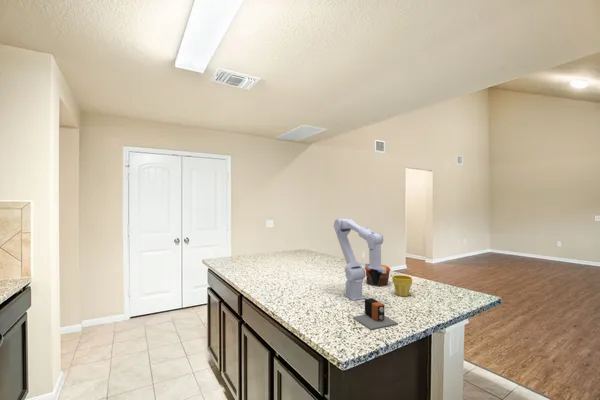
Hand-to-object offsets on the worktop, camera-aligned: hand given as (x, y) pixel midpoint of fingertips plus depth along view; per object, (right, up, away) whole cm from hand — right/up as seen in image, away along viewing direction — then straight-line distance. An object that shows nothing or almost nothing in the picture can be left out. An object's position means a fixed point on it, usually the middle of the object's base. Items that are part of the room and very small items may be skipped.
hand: (375, 284), depth 142 cm
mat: (-5, -10, -18) cm, 22 cm away
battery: (-6, -6, -11) cm, 14 cm away
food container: (+12, -11, +39) cm, 42 cm away
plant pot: (+20, -11, +18) cm, 29 cm away
